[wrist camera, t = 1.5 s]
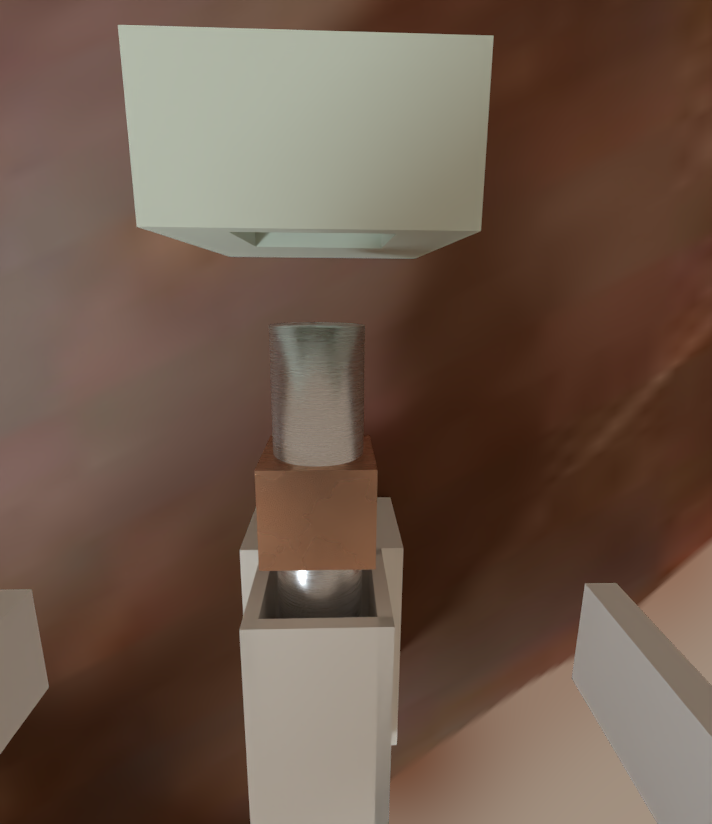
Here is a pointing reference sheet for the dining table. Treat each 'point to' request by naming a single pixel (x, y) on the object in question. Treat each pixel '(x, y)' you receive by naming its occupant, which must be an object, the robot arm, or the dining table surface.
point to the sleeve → (322, 694)
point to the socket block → (307, 139)
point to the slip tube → (317, 472)
